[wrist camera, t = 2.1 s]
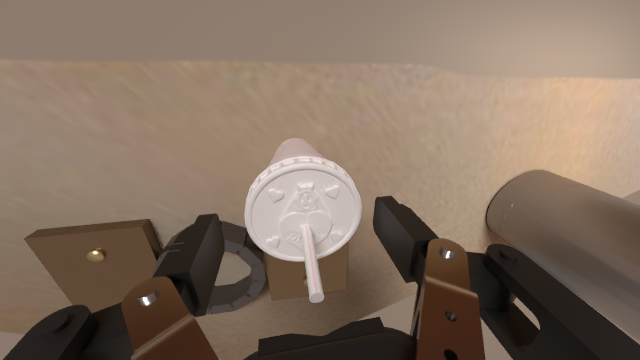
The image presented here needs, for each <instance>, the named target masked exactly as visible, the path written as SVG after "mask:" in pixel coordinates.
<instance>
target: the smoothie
mask: <svg viewBox="0 0 640 360" xmlns="http://www.w3.org/2000/svg"><path fill="white" fill-rule="evenodd" d="M361 212H362V205H361V199H360V196H359V193H358V191H357V189H356V187H355V184H354V182H353V180H352V179H351V178H350V176H349V175H348V174H347V172H346V171H345V170H344V169H342V168H341V167H339V166H338V165H337V164H335V163H334V162H331V161H329V160H326V159H325V158H324V157H323V156H322V155H321V154H320V153H319V152H317V151H316V150H315V149H314V148H313V147H312V146H311V145H310V144H309V143H308V142H307V141H305V140H303V139H299V138H292V139H288V140H286V141H284V142H283V143H282V144H280V146H279V147H278V149H277V150H276V152H275V154H274V156H273V158H272V160H271V162H270V164H269V166H268V168H267V169H266V170H264V171H263V172H262V173H261V174H259V176H258V177H257V178H256V180H255V181H254V183H253V184H252V185H251V187H250V190H249V193H248V196H247V198H246V207H245V224H246V228H247V231H248V233H249V235H250V237H251V239H252V240H253V241H254V243H255V244H256V245H257V246H258V247H259V248H260V249H262V250H263V251H264V252H266V253H267V254H269V255H271V256H273V257H276V258H279V259H282V260H286V261H294V262H303V261H305V267H306V275H307V283H308V292H309V300H310V301H311V302H313V303H318V302H321V301H322V300H323V299H324V293H323V288H322V283H321V278H320V272H319V267H318V262H317V259H320V258H323V257H325V256H328V255H330V254H332V253H333V252H335V251H337V250H338V249H340V248H341V247H342V246H343V245H345V244H346V243H347V242H348V241H349V239H350V238H351V237H352V236H353V234H354V233H355V231H356V229H357V227H358V225H359V222H360V219H361Z"/></svg>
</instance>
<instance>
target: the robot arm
mask: <svg viewBox="0 0 640 360" xmlns="http://www.w3.org/2000/svg"><path fill="white" fill-rule="evenodd" d="M487 224H488V227H489V228H490V230H491V231H492V232H494V233H495V234H496V235H498V236H499V237H500V238H502V239H503V240H504V241H506V242H507V243H508V244H510V245H511V246H512V247H514V248H512V247H509V246H506V245H501V244H492V245H490V246H488V248H487V250H486V253H485V254H483V253H473V252H466V251H465V250H464V249H463V248H462V247H461V246H460V245H459V244H457V243H455V242H453V241H451V240H448V239H442V238H439V237H438V236H437V235H436V234H435V233H434V232H433V231H432V230H431V229H430V228H429V227H428V226H427V225H426V224H425V223H424V222H423V221H422V220H421V219H420V218H419V217H418V216H417V215H416V214H415V213H414V212H413V211H412V210H411V209H410V208H408V207H407V206H405V205H403V204H399V203H398V202H397V201H396V200H395V199H394V198H393V197H392V196H384V197H377V198H376V200H375V208H374V217H373V227H374V231H375V233H376V235H377V236H378V238H379V240H380V241H381V243H382V245H383V246H384V248H385V249H386V251H387V253H388V254H389V256H390V258H391V259H392V261H393V263H394V264H395V266H396V267H397V269H398V271H399V272H400V274H401V276H402V277H403V279H404V281H405V282H406V283H409V282H415V281H416V283H417V284H418V288H417V292H416V300H415V306H414V312H413V319H412V326H411V331H410V335H408V334H406V333H404V332H402V331H399V330H396V329H393V328H388V327H384V326H383V324H382V322H381V319H380V317H376V318H371V319H366V320H360V321H355V322H351V323H349V324H347V325H345V326H343V327H341V328H339V329H337V330H335V331H333V332H331V333H329V334H327V335H325V336H313V335H302V334H291V333H290V334H285V335H280V336H274V337H269V338H263V339H259V346H258V351H257V352H255V353H253V354H251V355H250V356H248V357H246V358H245V359H244V360H485V352H484V343H483V335H482V327H481V318H482V320H483V321H484V322H485V323H486V325H487V326H488V327H489V329H490V330H491V331H492V333H493V334H494V335H495V337H496V338H497V339H498V340H499V342H500V343H501V344H502V346H503V347H504V348H505V350H506V351H507V352H508V354H509V355H510V356H511V357H512V359H513V360H640V345H639V344H638V343H637V342H635V341H634V340H633V339H632V338H630V337H629V336H627V335H626V334H625V333H624V332H623V331H621V330H620V329H619V328H618V327H616V326H615V325H614V324H613V323H611V322H610V321H609V320H607V319H606V318H605V317H607V318H608V319H610V320H611V321H612V322H614V323H615V324H616V325H618V326H619V327H620V328H622V329H623V330H624V331H626V332H627V333H628V334H630V335H631V336H632V337H634V338H635V339H636V340H638V341H639V342H640V205H638V204H635V203H632V202H630V201H627V200H624V199H622V198H619V197H616V196H613V195H611V194H608V193H605V192H602V191H600V190H597V189H594V188H592V187H589V186H587V185H584V184H581V183H578V182H576V181H573V180H570V179H568V178H565V177H562V176H559V175H557V174H554V173H551V172H548V171H544V170H536V171H531V172H527V173H524V174H522V175H520V176H518V177H516V178H515V179H513V180H512V181H510V182H509V183H508V184H507V185H505V186H504V187H503V188H502V189H501V190H500V191H499V192H498V194H497V195H496V196H495V198H494V199H493V201H492V202H491V204H490V207H489V209H488V213H487ZM224 249H225V242H224V236H223V233H222V229H221V225H220V221H219V217H218V215H217V214H216V213H215V214H206V215H199V216H198V218H197V219H196V221H195V223H194V225H193V226H192V227H187V228H186V229H184V230H183V231H182V232H181V233H180V234H178V236H177V237H176V239H175V241H174V242H173V245H172V246H171V247H170V249H169V252H167V254H166V255H165V257H164V259H163V260H162V262H161V264H160V265H159V267H158V269H157V270H156V272H155V274H154V275H153V277H152V278H151V279H148V280H146V281H144V282H142V283H140V284H138V285H137V286H135V287H134V288H133V289H132V290H131V291H130V292H129V293H128V294H127V295H126V296H125V298H124V299H123V301H122V302H120V303H118V304H115V305H113V306H110V307H107V308H105V309H102V310H99V311H96V312H94V313H91V311H90V310H89V308H88V307H87V306H85V305H73V306H69V307H66V308H63V309H61V310H58V311H56V312H54V313H52V314H51V315H49V316H47V317H46V318H44V319H43V320H41V321H40V322H39V323H37V324H36V325H35V326H34V327H32V328H31V329H30V330H29V331H28V332H27V333H26V335H25V336H24V337H23V338H22V339H21V340H20V341H19V342H18V343H17V345H16V346H15V347H14V348H13V349H12V350H11V351H10V352H9V354H8V355H7V356H6V357H5V358H4V359H3V360H219V359H218V357H217V355H216V354H215V352H214V350H213V348H212V347H211V345H210V343H209V341H208V340H207V338H206V336H205V335H204V333H203V331H202V329H201V328H200V326H199V324H198V322H197V321H196V319H195V317H198V316H204V315H206V311H207V308H208V304H209V301H210V298H211V294H212V291H213V287H214V284H215V281H216V277H217V274H218V271H219V267H220V264H221V260H222V257H223V254H224ZM574 293H575V294H574ZM578 296H579V297H578ZM516 297H517V298H518V299H519V300H520V301H521V302H522V303H524V305H525V306H526V307H527V308H529V310H530V311H532V313H533V314H534V315H535V316H536V318H537V319H538V321H539V324H540V330H539V329H538V328H537V327H536V326H535V325H534V324H533V323H532V322H531V321H530V320H529V319H528V318H527V317H526V316H525V315H524V314H523V312H522V311H521V310H520V309H519V308H518V307H517V306H516V305H515V304H514V303H513V302H514V300H515V298H516ZM581 298H582V299H583V300H584V301H583V300H582V299H581ZM586 302H587V303H588V304H590V305H591V306H592V307H593V308H595V309H596V310H598V311H599V312H600V313H602V314H603V315H604V316H605V317H604V316H602V315H601V314H600V313H599V312H597V311H596V310H595V309H593V308H592V307H591V306H589V305H588V304H587V303H586ZM480 317H481V318H480Z"/></svg>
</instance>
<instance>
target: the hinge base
mask: <svg viewBox="0 0 640 360" xmlns="http://www.w3.org/2000/svg"><path fill="white" fill-rule="evenodd" d="M220 225H221V229H222V233H223V236H224V242H225V249H224V251H227V252H231V253H234V254H237V255H238V256H239V257H240V258H242V259H243V260H244V261H245V262H246V263H247V264H248V265H249V266H251V273H250V275H249V276H247V277H246V278H244V279H242V280H241V281H239V282H237V283H235V284H230V285H223V286H214V287H213V291H212V294H211V298H210V301H209V304H208V308H207V311H206V314H209V313H210V314H217V313H223V312H230V311H235V310H238V309H239V308H241V307H243V306H245V305H246V304H248V303H250V302H251V301H253V300H255V298H257V296H258V295H259V293H260V291H261V289H262V288H263V286H264V284H265V283H266V273H267V276H268V282H269V288H270V294H271V300H272V301H274V300H280V299H287V298H294V297H300V296H307V295H309V292H308V283H307V275H306V267H305V261H303V262H294V261H286V260H282V259H279V258H276V257H273V256H271V255H269V254H267V253H266V252H264V251H263V250H262V249H260V248H259V247H258V246H257V245H256V244H255V243H254V241H253V240H252V239H251V237H250V235H249V233H248V231H247V229H246V228H243V227H240V226H237V225H234V224H231V223H228V222H224V221H223V222H222V223H221V221H220ZM192 226H193V224H192V225H190V226H189V227H192ZM182 231H183V230H182ZM182 231H181V232H182ZM181 232H179V233H178V234H180V233H181ZM178 234H176V235H175V236H173V237H172V238H171V240H170V241H169V243H168V244H167V245H166V247H165V248H164V250H163V251H162V249H161V247H160V245H159V242H158V240H157V238H156V235H155V233H154V230H153V228H152V226H151V223H150V221H149V219H144V220H134V221H124V222H114V223H103V224H93V225H83V226H72V227H62V228H52V229H41V230H37V231H35V232H34V233H32V234H31V235H29V236H27V237H26V238H24V240H25V241H26V242H27V244H28V245H29V246H30V248H31V249H32V250H33V252H34V253H35V255H36V256H37V257H38V259H39V260H40V261H41V263H42V264H43V265H44V267H45V268H46V269H47V271H48V272H49V273H50V275H51V276H52V277H53V279H54V280H55V282H56V283H57V284H58V286H59V287H60V288H61V290H62V291H63V292H64V294H65V295H66V296H67V298H68V299H69V300H70V302H71V303H72V304H73V305H85V306H87V307H88V308H89V310H90V311H91V313H94V312H96V311H99V310H102V309H105V308H107V307H110V306H113V305H115V304H118V303H120V302H122V301H123V299H124V298H125V296H126V295H127V294H128V293H129V292H130V291H131V290H132V289H133V288H134V287H135V286H137V285H138V284H140V283H142V282H144V281H146V280H148V279H151V278H152V277H153V275H154V274H155V272H156V270H157V269H158V267H159V265H160V264H161V262H162V260H163V259H164V257H165V255H166V254H167V252H169V249H170V247H171V246H172V245H173V242H174V241H175V239H176V237H177V236H178ZM317 262H318V267H319V272H320V278H321V283H322V288H323V293H327V292H334V291H340V290H346V285H347V262H348V242H347V243H346V244H345V245H343V246H342V247H341V248H340V249H338V250H337V251H335V252H333V253H332V254H330V255H328V256H325V257H323V258H320V259H317Z"/></svg>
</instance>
